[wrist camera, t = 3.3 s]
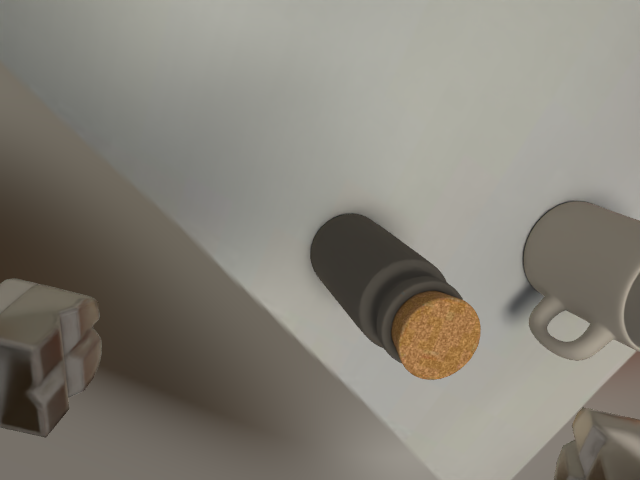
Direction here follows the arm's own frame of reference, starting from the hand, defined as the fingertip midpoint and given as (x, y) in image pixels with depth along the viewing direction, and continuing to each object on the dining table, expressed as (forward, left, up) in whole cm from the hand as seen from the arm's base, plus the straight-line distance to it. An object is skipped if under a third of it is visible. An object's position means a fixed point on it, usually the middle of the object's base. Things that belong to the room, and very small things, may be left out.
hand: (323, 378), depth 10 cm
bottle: (+14, +4, -32) cm, 35 cm away
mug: (+27, +17, -32) cm, 45 cm away
